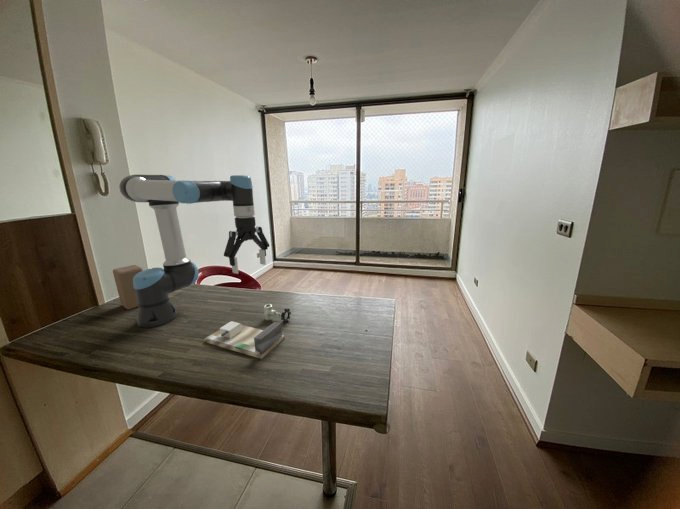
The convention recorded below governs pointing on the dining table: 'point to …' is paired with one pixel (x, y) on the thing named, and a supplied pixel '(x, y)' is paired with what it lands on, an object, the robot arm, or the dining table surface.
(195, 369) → the dining table surface
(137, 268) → the wooden block
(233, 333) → the white rectangular block
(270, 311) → the valve
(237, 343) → the board
